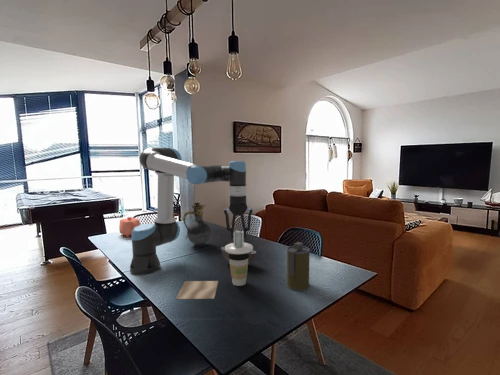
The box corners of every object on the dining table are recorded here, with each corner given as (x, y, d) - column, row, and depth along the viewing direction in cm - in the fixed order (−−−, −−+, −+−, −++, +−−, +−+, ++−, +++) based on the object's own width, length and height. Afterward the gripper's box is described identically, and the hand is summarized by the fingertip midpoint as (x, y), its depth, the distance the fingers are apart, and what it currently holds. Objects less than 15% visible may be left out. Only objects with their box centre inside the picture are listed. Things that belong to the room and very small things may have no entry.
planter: (220, 262, 150) (219, 227, 148) (248, 258, 156) (247, 224, 154) (227, 272, 136) (227, 234, 134) (257, 267, 142) (257, 231, 140)
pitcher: (213, 245, 180) (212, 201, 177) (188, 251, 168) (186, 205, 164) (205, 241, 188) (204, 199, 185) (180, 247, 176) (178, 202, 172)
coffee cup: (247, 289, 119) (246, 257, 117) (226, 287, 120) (225, 255, 119) (251, 279, 128) (251, 249, 126) (231, 277, 130) (231, 248, 128)
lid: (223, 254, 116) (223, 236, 115) (225, 244, 129) (225, 228, 128) (253, 254, 116) (253, 235, 115) (252, 244, 129) (252, 228, 128)
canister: (293, 278, 129) (294, 238, 127) (313, 284, 122) (314, 242, 120) (281, 286, 121) (281, 244, 118) (302, 294, 114) (302, 249, 112)
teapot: (116, 233, 209) (115, 216, 208) (132, 230, 218) (131, 213, 217) (127, 239, 194) (126, 220, 193) (144, 235, 203) (143, 217, 202)
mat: (175, 299, 110) (175, 298, 110) (184, 282, 126) (184, 281, 126) (214, 299, 110) (214, 298, 110) (218, 281, 126) (218, 280, 126)
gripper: (219, 196, 116) (220, 248, 118) (256, 196, 116) (256, 247, 119) (220, 194, 123) (222, 243, 126) (255, 193, 124) (256, 242, 126)
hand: (238, 245), depth 122 cm, fingers closed on lid, 3 cm apart
